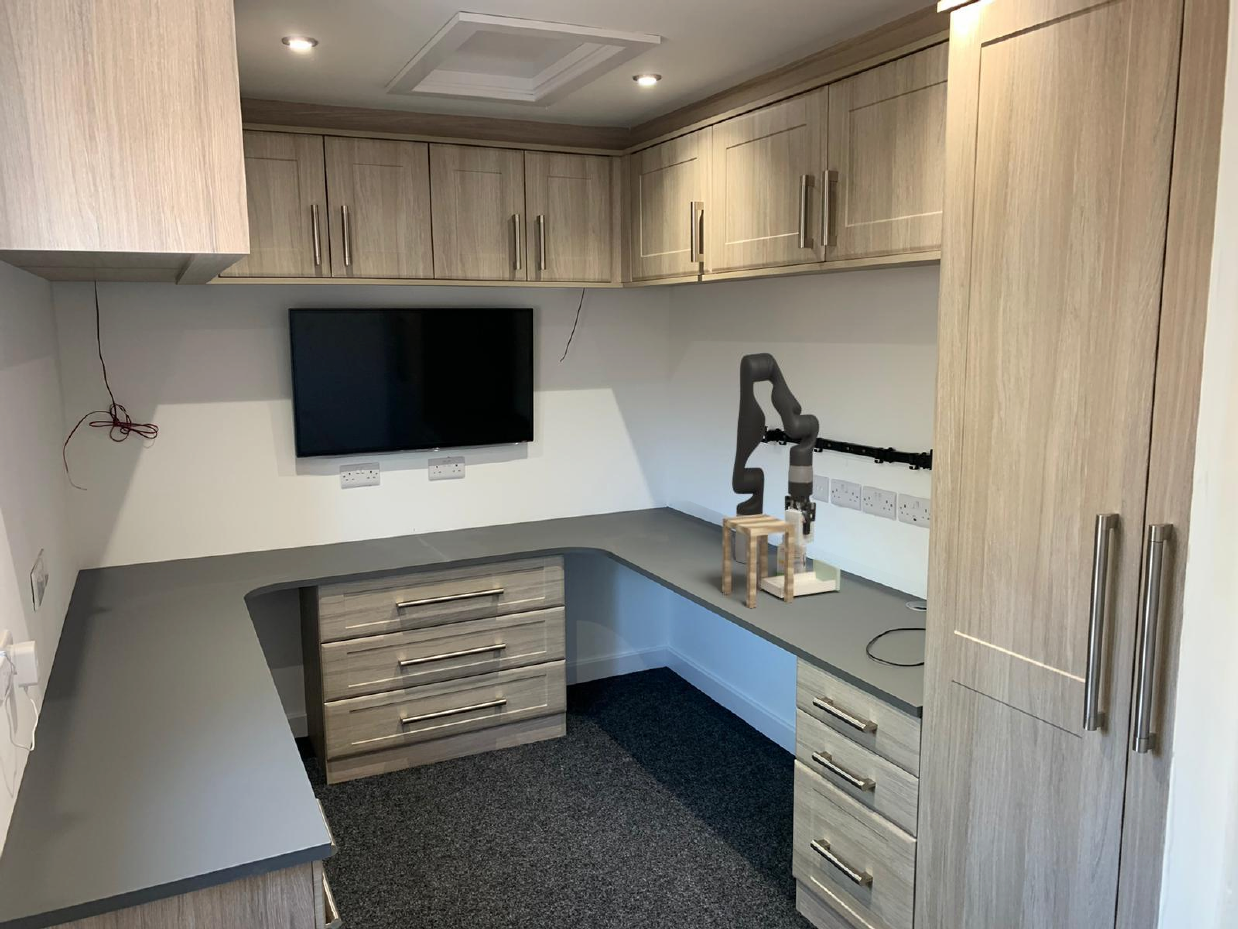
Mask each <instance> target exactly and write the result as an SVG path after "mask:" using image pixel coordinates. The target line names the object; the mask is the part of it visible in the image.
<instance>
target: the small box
mask: <svg viewBox="0 0 1238 929" xmlns="http://www.w3.org/2000/svg"><path fill="white" fill-rule="evenodd" d="M803 512H807V511H803ZM805 517H807V516H805ZM811 518H812V514H811ZM784 521H786V522H788V523H791V524H794V525H795V538H794V545H796V546H800V545H803V544H806V545H807V544H809V543H813V542H814V539H815V534H814V533H815V521H814V522H811V523H810V534H808V535H804V534H803V523H804V522H803V516H802V512H800V511H799V510H797V509H794V508H793V509H789V508H788V510H785V509H784Z"/></svg>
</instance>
